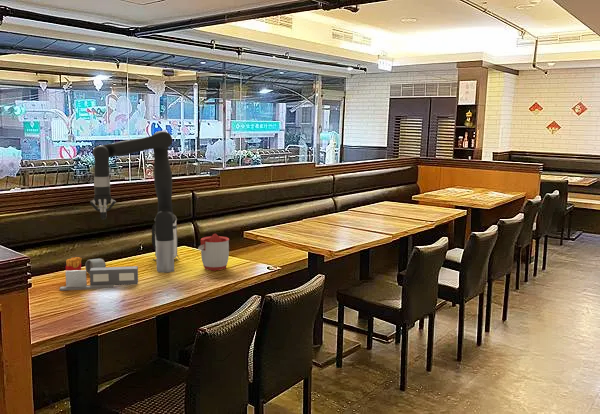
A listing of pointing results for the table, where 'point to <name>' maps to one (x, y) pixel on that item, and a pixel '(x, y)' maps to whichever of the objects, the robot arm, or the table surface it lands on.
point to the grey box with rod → (109, 278)
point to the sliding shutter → (76, 278)
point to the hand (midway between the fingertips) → (103, 219)
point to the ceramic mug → (94, 264)
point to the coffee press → (173, 234)
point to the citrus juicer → (214, 252)
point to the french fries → (73, 264)
